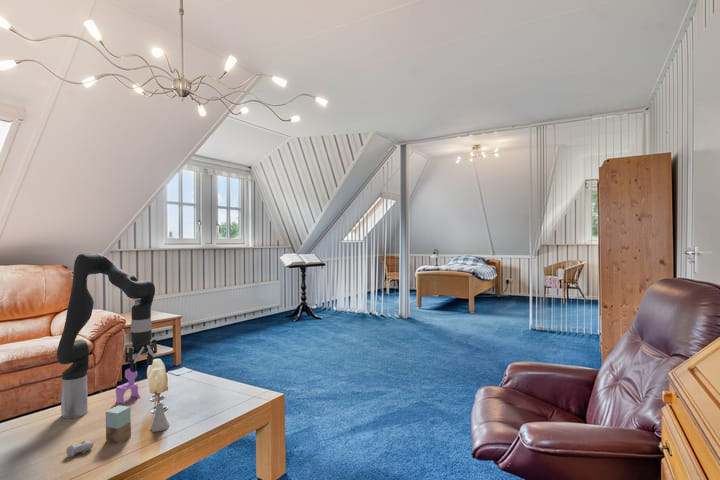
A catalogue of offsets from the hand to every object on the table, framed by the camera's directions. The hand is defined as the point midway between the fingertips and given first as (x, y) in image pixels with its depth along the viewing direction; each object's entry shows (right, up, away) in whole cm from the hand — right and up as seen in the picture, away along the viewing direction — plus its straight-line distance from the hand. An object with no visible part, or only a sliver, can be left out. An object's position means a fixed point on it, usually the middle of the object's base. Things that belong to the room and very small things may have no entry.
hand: (141, 368), depth 166 cm
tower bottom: (-6, -26, -6) cm, 28 cm away
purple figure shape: (-24, -26, +32) cm, 48 cm away
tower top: (-6, -20, -6) cm, 22 cm away
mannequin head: (-15, -27, -15) cm, 34 cm away
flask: (+6, -26, +3) cm, 27 cm away
